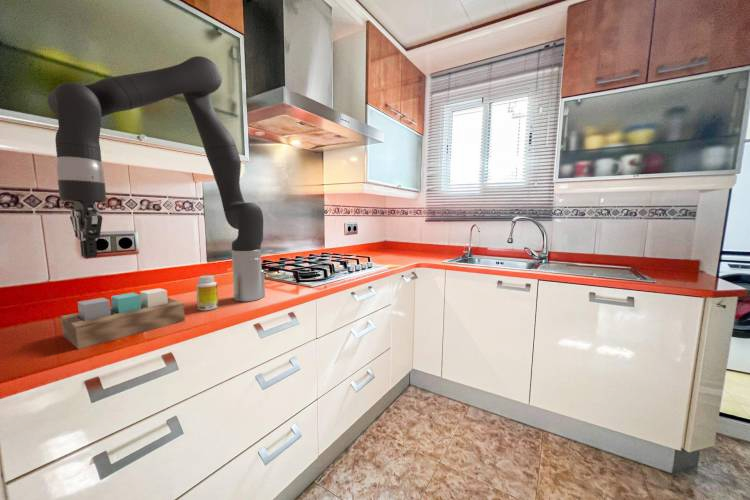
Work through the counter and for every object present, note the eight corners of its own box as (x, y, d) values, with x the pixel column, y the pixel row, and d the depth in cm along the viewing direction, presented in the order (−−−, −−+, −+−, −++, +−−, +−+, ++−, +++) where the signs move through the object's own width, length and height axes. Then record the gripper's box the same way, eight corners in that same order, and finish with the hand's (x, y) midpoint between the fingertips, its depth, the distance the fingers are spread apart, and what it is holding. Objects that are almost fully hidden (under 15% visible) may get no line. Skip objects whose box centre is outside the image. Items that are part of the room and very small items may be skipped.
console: (164, 312, 87) (163, 296, 86) (184, 320, 80) (183, 303, 80) (63, 336, 69) (61, 316, 69) (78, 349, 63) (76, 326, 62)
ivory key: (160, 301, 82) (159, 288, 82) (168, 304, 80) (167, 290, 80) (141, 305, 79) (140, 291, 78) (148, 308, 76) (147, 293, 76)
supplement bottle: (221, 308, 92) (219, 276, 91) (201, 312, 88) (199, 278, 87) (214, 304, 95) (213, 273, 94) (195, 308, 91) (193, 276, 90)
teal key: (134, 307, 77) (133, 292, 77) (141, 310, 75) (140, 295, 75) (112, 311, 74) (111, 296, 73) (119, 315, 71) (117, 299, 71)
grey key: (104, 313, 72) (103, 297, 72) (111, 316, 70) (109, 300, 70) (79, 318, 69) (77, 301, 68) (85, 322, 66) (83, 305, 66)
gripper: (114, 180, 65) (121, 257, 67) (94, 183, 73) (101, 253, 74) (66, 176, 59) (75, 261, 61) (50, 180, 66) (58, 256, 68)
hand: (89, 256), depth 68 cm, fingers closed
